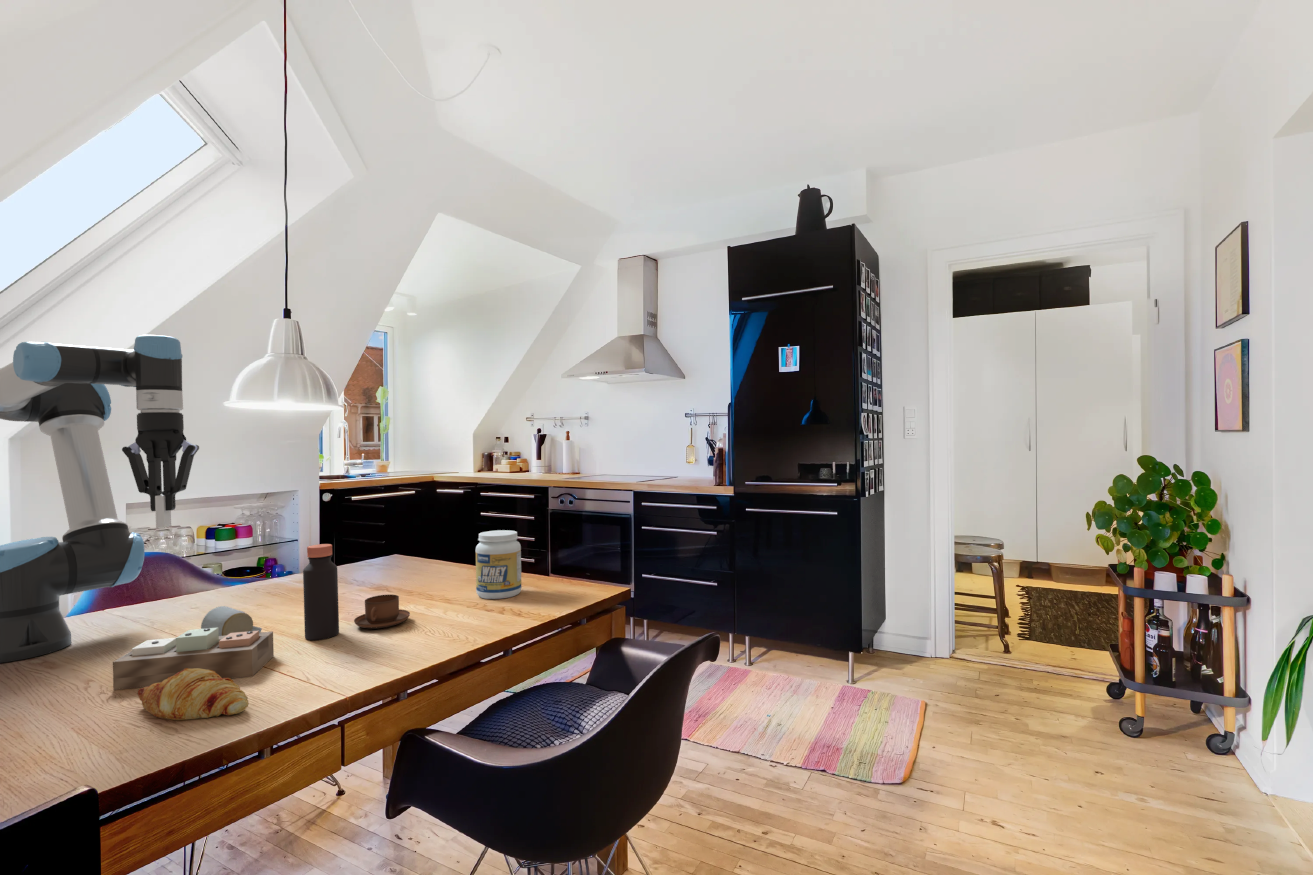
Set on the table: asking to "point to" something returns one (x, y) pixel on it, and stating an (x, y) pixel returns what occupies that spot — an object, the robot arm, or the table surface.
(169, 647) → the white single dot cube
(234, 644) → the three pip tile
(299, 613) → the table surface
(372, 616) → the cup and saucer
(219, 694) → the croissant
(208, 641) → the two pip tile
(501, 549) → the supplement tub
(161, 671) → the wooden tile tray
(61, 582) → the robot arm
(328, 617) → the bottle
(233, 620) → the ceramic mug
